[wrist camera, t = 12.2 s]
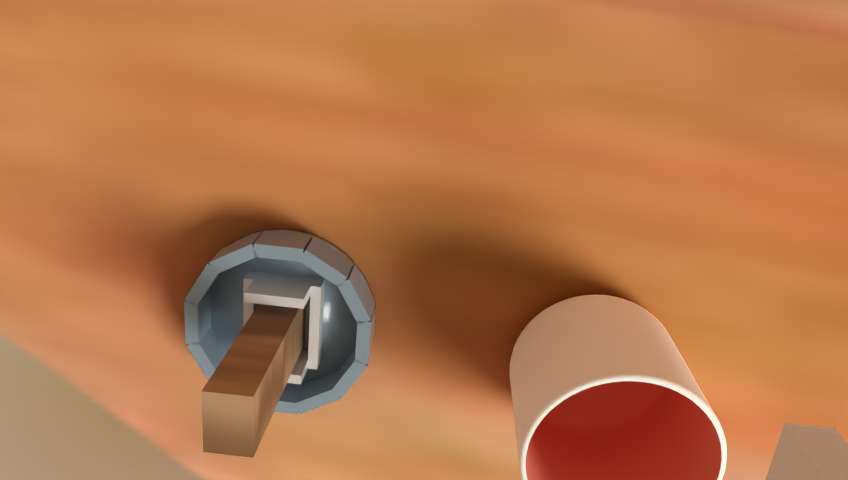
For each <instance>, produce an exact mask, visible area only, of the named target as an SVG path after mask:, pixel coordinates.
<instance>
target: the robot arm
mask: <svg viewBox="0 0 848 480" xmlns="http://www.w3.org/2000/svg"><path fill="white" fill-rule="evenodd" d="M766 480H848V444H847V443H846V441H845V440H844V439H843V438H842V437H841V435H840V434H839V433H838V432H837V431H836V429H835V428H828V427H819V426H811V425H802V424H793V423H785V424H784V427H783V430H782V433H781V436H780V439H779V442H778V445H777V448H776V451H775V454H774V457H773V460H772V463H771V466H770V468H769V471H768V474H767V477H766Z"/></svg>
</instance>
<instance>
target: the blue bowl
mask: <svg viewBox="0 0 848 480" xmlns="http://www.w3.org/2000/svg"><path fill="white" fill-rule="evenodd" d="M258 304H264V305H273V306H282V307H291V308H300V309H304V307H305V305H306V315H305V344H304V346H303V348H302V350H301V353H300V355H299V357H298V359H297V362H296V364H295V366H294V368H293V370H292V373H291V375H290V377H289V379H288V382H287V384H286V386H285V388H284V390H283V393H282V395H281V397H280V399H279V401H278V404H277V406H276V408H275V410H274V412H282V413H291V414H298V413H300V414H301V413H304V412H307V411H310V410H312V409H315V408H318V407H320V406H323V405H326V404H329V403H331V402H334V401H337V400H339V399H340V398H342V397H343V396H344V395H345V394H346V392H347V391H348V390H349V389H350V387H351V386H352V385H353V383H354V382H355V381H356V380H357V378H358V377H359V376H360V375H361V373H362V372H363V371H364V370H365V368H366V367H367V365H368V363H369V359H370V355H371V351H372V347H373V338H374V329H375V322H376V306H375V304H376V303H375V302H374V298H373V295H372V291H371V289H370V286H369V284H368V282H367V280H366V278H365V276H364V275H363V273H362V272H361V270H360V269H359V268H358V266H357V265H356V264H355V263H354V261H353V260H352V259H351V258H350V257H349V256H347V255H346V254H345V253H344V252H343V251H342V250H340V249H339V248H338V247H336V246H335V245H333V244H331V243H330V242H328V241H326V240H324V239H322V238H320V237H317V236H315V235H312V234H309V233H305V232H302V231H296V230H289V229H273V230H264V231H260V232H255V233H252V234H250V235H247V236H244V237H242V238H241V239H239V240H237V241H235V242H234V243H232V244H231V245H228V246H226V247H224V248H222V249H221V250H220V251H219V252H218V253H217V254H216V255H215V256H214V257H213V258H212V259H211V260H210V261H209V263H208V264H207V265H206V267H205V268H204V270H203V271H202V273H201V274H200V276H199V278H198V279H197V281H196V282H195V284H194V285H193V287H192V288H191V290H190V291H189V293H188V295H187V296H186V298H185V301H184V318H185V344H187V345H186V346H187V348H188V349H189V351H190V353H191V354H192V356H193V357H194V359H195V360H196V362H197V363H198V365H199V367H200V368H201V370H202V371H203V373H204V374H205V376H206V378H207V379H208V381H209V379H210V378H211V376H212V375H213V373H214V372H215V370H216V368H217V367H218V365H219V364H220V362H221V361H222V359H223V358H224V356H225V355H226V353H227V352H228V350H229V349H230V347H231V345H232V344H233V342H234V341H235V339H236V338H237V336H238V335H239V333H240V332H241V330H242V329H243V327H244V326H245V324H246V322H247V321H248V319H249V318H250V316H251V315H252V313H253V312H254V310H255V309H256V307H257V306H258Z"/></svg>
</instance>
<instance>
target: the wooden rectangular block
mask: <svg viewBox="0 0 848 480" xmlns="http://www.w3.org/2000/svg"><path fill="white" fill-rule="evenodd" d="M305 315H306V305H305V307H304V309H300V308H291V307H282V306H273V305H264V304H258V306H257V307H256V309H255V310H254V312H253V313H252V315H251V316H250V318H249V319H248V321H247V322H246V324H245V326H244V327H243V329H242V330H241V332H240V333H239V335H238V336H237V338H236V339H235V341H234V342H233V344H232V345H231V347H230V349H229V350H228V352H227V353H226V355H225V356H224V358H223V359H222V361H221V362H220V364H219V365H218V367H217V368H216V370H215V372H214V373H213V375H212V376H211V378H210V379H209V381H208V382H207V384H206V385H205V387H204V388H203V390H202V419H203V452H209V453H218V454H226V455H235V456H244V457H254V455H255V452H256V450H257V448H258V446H259V444H260V441H261V439H262V437H263V435H264V432H265V430H266V428H267V426H268V424H269V421H270V419H271V417H272V415H273V413H274V410H275V408H276V406H277V404H278V401H279V399H280V397H281V395H282V393H283V390H284V388H285V386H286V384H287V382H288V379H289V377H290V375H291V373H292V370H293V368H294V366H295V364H296V362H297V359H298V357H299V355H300V353H301V350H302V348H303V346H304V344H305Z"/></svg>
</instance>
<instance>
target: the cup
mask: <svg viewBox="0 0 848 480" xmlns="http://www.w3.org/2000/svg"><path fill="white" fill-rule="evenodd" d="M510 384H511V393H512V403H513V412H514V422H515V431H516V440H517V449H518V459H519V468H520V475H521V479H522V480H722V478H723V475H724V472H725V467H726V461H727V447H726V440H725V435H724V432H723V429H722V427H721V424H720V422H719V420H718V419H717V417H716V415H715V414H714V412H713V410H712V408H711V407H710V405H709V403H708V401H707V400H706V398H705V396H704V395H703V393H702V391H701V389H700V388H699V386H698V384H697V382H696V381H695V379H694V377H693V375H692V374H691V372H690V370H689V368H688V367H687V365H686V363H685V362H684V360H683V358H682V356H681V355H680V353H679V351H678V349H677V348H676V346H675V344H674V342H673V341H672V339H671V337H670V335H669V334H668V332H667V330H666V329H665V328H664V326H663V325H662V324H661V323H660V322H659V320H658V319H657V318H656V317H654V316H653V315H652V314H651V313H650V312H648V311H647V310H646V309H644V308H642V307H641V306H639V305H637V304H635V303H633V302H631V301H628V300H625V299H622V298H619V297H615V296H609V295H583V296H577V297H572V298H569V299H565V300H563V301H560V302H558V303H556V304H554V305H552V306H550V307H548V308H546V309H545V310H543V311H542V312H540V313H539V314H538V315H537V316H536V317H534V318H533V319H532V320H531V321H530V322H529V323H528V325H527V326H526V327H525V328H524V330H523V331H522V332H521V334H520V336H519V338H518V339H517V341H516V344H515V346H514V349H513V352H512V355H511V361H510Z"/></svg>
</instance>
